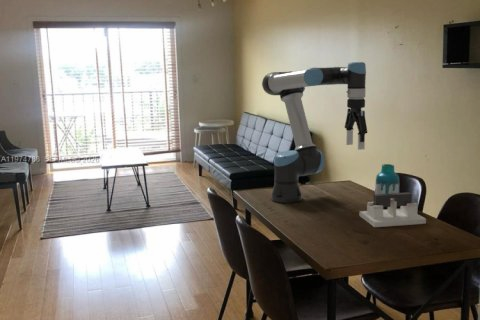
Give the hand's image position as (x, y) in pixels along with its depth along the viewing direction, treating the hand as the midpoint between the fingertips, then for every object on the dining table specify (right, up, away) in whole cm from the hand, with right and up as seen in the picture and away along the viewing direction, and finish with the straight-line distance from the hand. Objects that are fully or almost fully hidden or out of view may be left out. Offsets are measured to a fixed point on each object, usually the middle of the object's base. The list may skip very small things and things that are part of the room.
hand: (355, 147), depth 219 cm
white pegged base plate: (+13, -31, -10) cm, 35 cm away
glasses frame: (+13, -25, -11) cm, 30 cm away
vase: (+17, -27, +11) cm, 34 cm away
